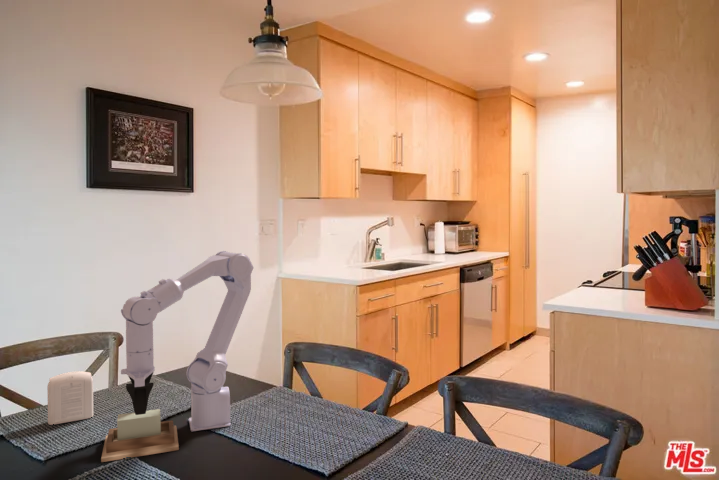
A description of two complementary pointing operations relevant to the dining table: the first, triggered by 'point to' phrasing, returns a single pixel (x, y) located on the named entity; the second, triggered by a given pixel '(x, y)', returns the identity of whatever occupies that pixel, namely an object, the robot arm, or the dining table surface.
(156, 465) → the dining table surface
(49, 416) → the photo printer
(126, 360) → the robot arm
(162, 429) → the slot board
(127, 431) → the beige block
